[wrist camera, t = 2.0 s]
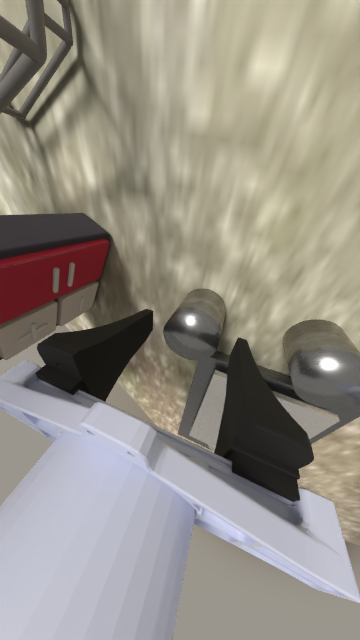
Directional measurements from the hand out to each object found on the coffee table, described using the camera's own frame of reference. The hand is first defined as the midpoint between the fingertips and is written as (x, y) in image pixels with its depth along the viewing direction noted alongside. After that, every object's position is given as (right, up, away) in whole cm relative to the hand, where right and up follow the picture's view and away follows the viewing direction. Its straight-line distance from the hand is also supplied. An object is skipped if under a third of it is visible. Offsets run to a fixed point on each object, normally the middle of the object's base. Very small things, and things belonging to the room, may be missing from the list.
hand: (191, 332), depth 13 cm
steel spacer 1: (+1, +2, +3) cm, 4 cm away
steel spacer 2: (+11, -1, +1) cm, 11 cm away
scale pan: (+7, -13, +9) cm, 18 cm away
